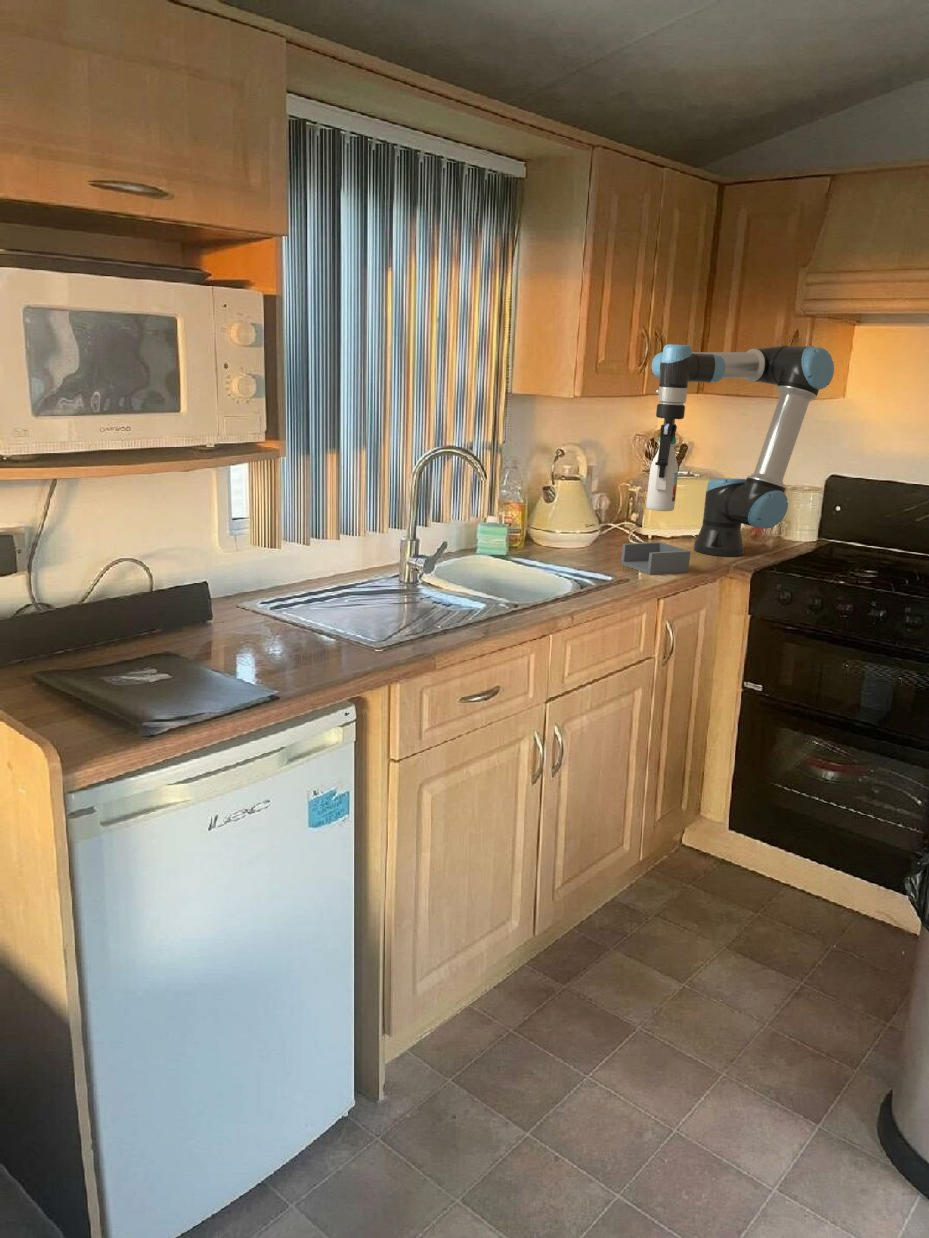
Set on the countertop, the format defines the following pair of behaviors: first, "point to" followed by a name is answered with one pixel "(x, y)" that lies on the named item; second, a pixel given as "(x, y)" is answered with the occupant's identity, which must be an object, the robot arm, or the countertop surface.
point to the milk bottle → (666, 498)
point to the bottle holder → (655, 558)
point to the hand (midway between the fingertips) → (662, 487)
